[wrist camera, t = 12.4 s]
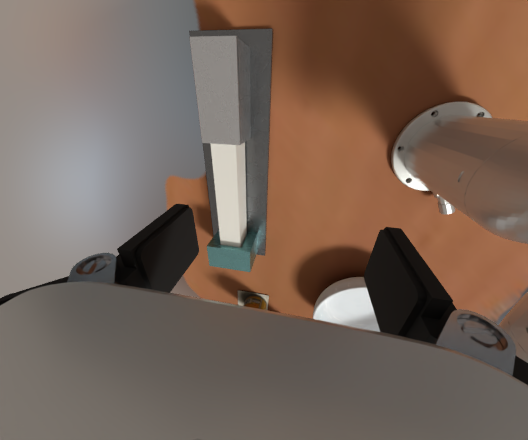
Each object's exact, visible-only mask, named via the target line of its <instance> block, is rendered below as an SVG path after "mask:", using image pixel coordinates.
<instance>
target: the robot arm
mask: <svg viewBox="0 0 528 440" xmlns="http://www.w3.org/2000/svg"><path fill="white" fill-rule="evenodd" d="M432 112H433V115H431V113H432ZM477 114H478V115H477ZM476 115H477V116H476ZM399 146H400V149H398V147H399ZM391 164H392V169H393V171H394V174H395V175H396V177H397V178H398V179H399V180H400V181H401V182H402V183H403V184H405V185H406V186H408V187H410V188H413V189H415V190H421V191H432V192H433V195H434V197H436V198H438V207H439V212H440V213H441V214H451V213H453V212H455V208H457V209H458V210H460V211H461V212H462V213H464V214H465V215H467V216H468V217H469V218H471V219H472V220H473V221H475V222H476V223H478V224H479V225H480V226H482V227H483V228H485V229H486V230H488V231H490V232H491V233H493V234H495V235H497V236H500V237H502V238H505V239H508V240H512V241H516V242H520V243H527V244H528V121H521V120H510V119H498V118H492V116H491V114H490V113H489V112H488V111H487V110H486V109H485V108H483V107H481V106H479V105H477V104H474V103H470V102H448V103H444V104H440V105H437V106H434V107H432V108H429V109H427V110H426V111H424V112H422V113H421V114H419V115H418V116H416V117H415V118H414V119H413V120H411V121H410V122H409V123H408V124H407V125H406V126H405V128H404V129H403V130H402V131H401V133H400V134H399V136H398V137H397V139H396V141H395V143H394V146H393V150H392V153H391ZM407 178H408V180H406V179H407ZM117 250H118V252H119V255H118V256H117V257H116V256H115V255H113V254H110V253H100V254H95V255H92V256H89V257H87V258H85V259H83V260H81V261H80V262H78V263H77V264H76V265H75V266H74V267H73V268H72V270H71V272H70V275H69V276H68V277H65V278H62V279H58V280H55V281H52V282H48V283H45V284H42V285H39V286H36V287H32V288H29V289H26V290H23V291H19V292H16V293H12V294H9V295H6V296H4V297H2V298H0V440H528V292H527V293H526V294H525V295H524V296H523V297H522V298H521V299H520V301H519V302H518V303H517V304H516V305H515V306H514V307H513V308H512V309H511V310H510V312H509V313H508V314H507V315H506V316H505V318H504V319H503V320H502V322H501V323H500V324H499V326H498V325H497V324H496V323H494V322H493V321H491V320H490V319H488V318H486V317H484V316H482V315H480V314H478V313H475V312H472V311H469V310H461V309H459V310H457V309H456V308H455V306H454V305H453V303H452V302H453V300H452V299H451V297H450V296H449V294H448V293H447V292H446V290H445V289H444V287H443V286H442V285H441V283H440V282H439V281H438V279H437V278H436V276H435V275H434V274H433V272H432V271H431V270H430V268H429V267H428V265H427V264H426V263H425V261H424V260H423V258H422V257H421V256H420V254H419V253H418V252H417V250H416V249H415V247H414V246H413V245H412V243H411V242H410V240H409V239H408V238H407V236H406V235H405V234H404V232H403V231H402V230H401V229H399V228H390V227H386V228H385V229H384V230H380V232H379V234H378V237H377V240H376V242H375V245H374V248H373V251H372V253H371V256H370V259H369V262H368V264H367V267H366V270H365V273H364V281H365V284H366V287H367V290H368V294H369V297H370V300H371V303H372V307H373V310H374V313H375V316H376V320H377V323H378V326H379V329H380V332H378V331H373V330H368V329H363V328H358V327H353V326H348V325H342V324H337V323H332V322H326V321H321V320H316V319H311V318H305V317H300V316H295V315H289V314H284V313H279V312H273V311H268V310H262V309H257V308H251V307H246V306H241V305H235V304H230V303H224V302H219V301H213V300H208V299H202V298H196V297H190V296H185V295H179V294H174V293H170V291H171V290H172V289H173V288H174V286H175V285H176V283H177V282H178V281H179V279H180V278H181V277H182V275H183V274H184V273H185V271H186V270H187V269H188V267H189V266H190V264H191V263H192V262H193V260H194V259H195V258H196V256H197V255H198V252H199V247H198V241H197V235H196V229H195V223H194V217H193V211H192V209H191V208H190V207H189V206H188V205H184V204H175V205H174V206H173V207H171V208H170V209H169V210H167V211H166V212H165V213H164V214H162V215H161V216H160V217H158V218H157V219H156V220H154V221H153V222H152V223H151V224H149V225H148V226H146V227H145V228H144V229H143V230H141V231H140V232H139V233H137V234H136V235H135V236H133V237H132V238H131V239H130V240H128V241H127V242H126V243H124V244H123V245H122V246H120V247H119V248H118V249H117Z"/></svg>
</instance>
